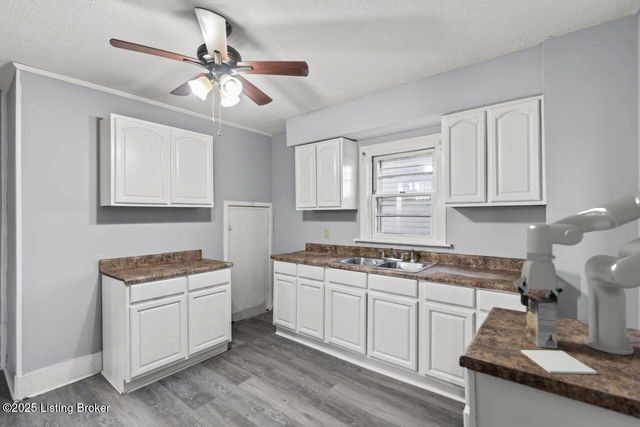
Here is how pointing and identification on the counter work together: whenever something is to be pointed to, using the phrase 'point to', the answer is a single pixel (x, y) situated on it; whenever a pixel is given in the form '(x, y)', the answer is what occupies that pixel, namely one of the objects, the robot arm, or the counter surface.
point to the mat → (558, 362)
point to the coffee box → (541, 321)
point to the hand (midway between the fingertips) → (538, 305)
